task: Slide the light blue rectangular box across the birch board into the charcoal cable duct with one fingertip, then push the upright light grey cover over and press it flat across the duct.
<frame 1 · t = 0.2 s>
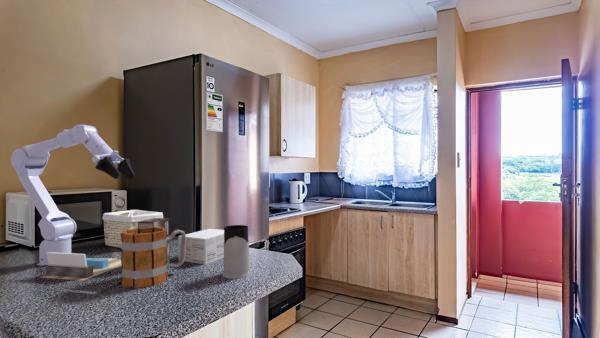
hand: (125, 177, 120), 31 cm above the counter, tool tilted 45°, fingers open, 7 cm apart
light blue rectangular box: (94, 266, 119), point 1 cm above the counter, touching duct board
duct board: (92, 269, 118), on the counter
mug: (155, 278, 108), on the counter
supplement box: (207, 258, 133), on the counter
storage basket: (133, 245, 156), on the counter
glass holder: (236, 272, 113), on the counter
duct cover: (66, 260, 108), point 6 cm above the counter, hinge at 100.0°
coffee box: (154, 266, 122), on the counter
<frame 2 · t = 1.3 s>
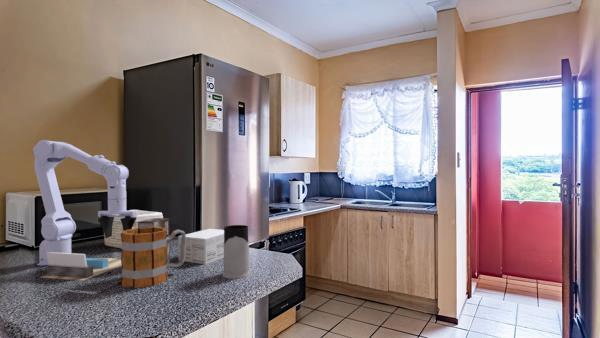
hand: (117, 237, 124), 10 cm above the counter, tool pointing down, fingers open, 7 cm apart
nothing on the counter moved.
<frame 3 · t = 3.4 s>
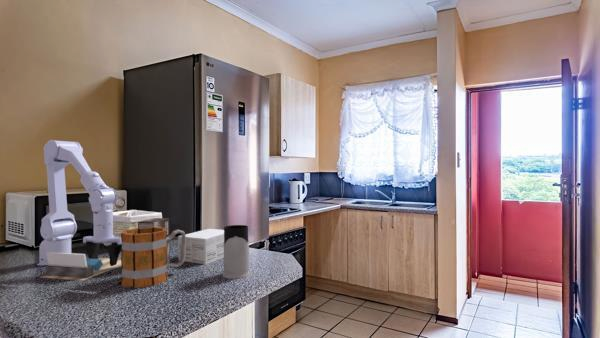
hand: (103, 264, 118), 2 cm above the counter, tool pointing down, fingers open, 7 cm apart
light blue rectangular box: (90, 266, 117), point 1 cm above the counter, tilted 33°, touching gripper
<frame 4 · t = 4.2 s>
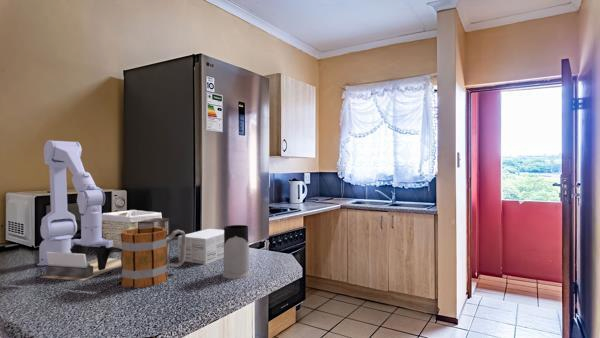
hand: (92, 268, 113), 2 cm above the counter, tool pointing down, fingers open, 7 cm apart
light blue rectangular box: (77, 271, 112), point 1 cm above the counter, tilted 24°, touching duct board, gripper
everything else where it was.
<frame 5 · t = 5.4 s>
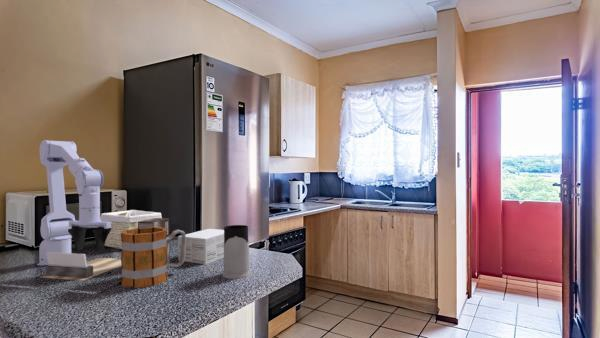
hand: (90, 250, 113), 8 cm above the counter, tool pointing down, fingers open, 7 cm apart
light blue rectangular box: (76, 273, 111), point 1 cm above the counter, touching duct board
everything else where it was.
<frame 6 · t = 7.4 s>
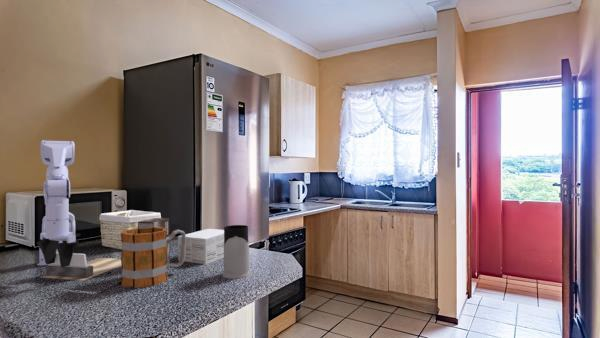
hand: (57, 264, 105), 5 cm above the counter, tool pointing down, fingers open, 7 cm apart
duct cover: (66, 260, 108), point 6 cm above the counter, hinge at 99.4°, touching gripper
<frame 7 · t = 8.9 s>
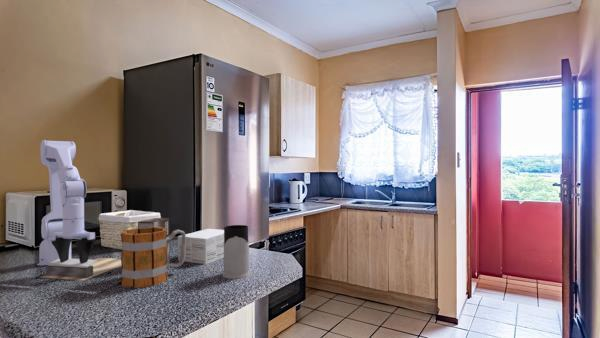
hand: (74, 262, 110), 5 cm above the counter, tool pointing down
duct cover: (72, 262, 110), point 4 cm above the counter, hinge at 11.9°, touching gripper
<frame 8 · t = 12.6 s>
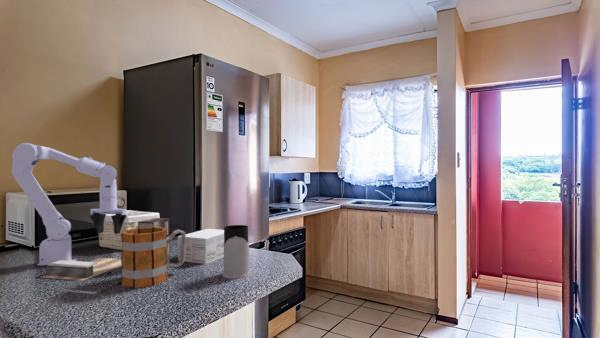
hand: (108, 233, 133), 9 cm above the counter, tool pointing down, fingers open, 7 cm apart
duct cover: (72, 264, 110), point 4 cm above the counter, hinge at 0.1°
at the end: light blue rectangular box inside the target area (0.7 cm from its centre), point 0.6 cm above the counter; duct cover at +0° (first picture: +100°) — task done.
